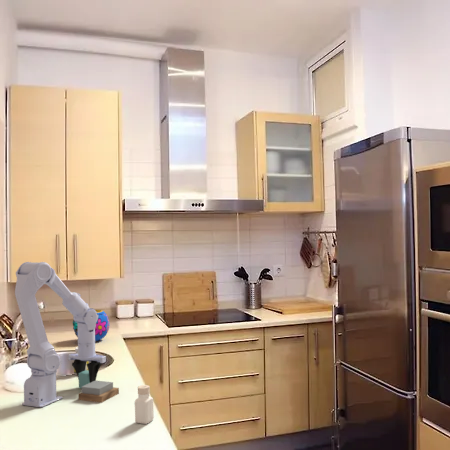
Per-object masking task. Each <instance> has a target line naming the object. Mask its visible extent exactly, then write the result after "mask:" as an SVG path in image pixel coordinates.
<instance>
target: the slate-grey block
mask: <svg viewBox="0 0 450 450" xmlns="http://www.w3.org/2000/svg"><path fill="white" fill-rule="evenodd" d="M113 387H114V382H112V381H103V380H97V379H96V380H95V381H93V382H91V383H89V384H86V385H84V386H82V388H81V392H82V393H85V394H94V395H101V394H103V393H105V392H107V391H109V390H111V389H113Z"/></svg>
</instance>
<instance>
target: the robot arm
mask: <svg viewBox="0 0 450 450" xmlns="http://www.w3.org/2000/svg"><path fill="white" fill-rule="evenodd" d="M15 276H16V283H15V289H14V296H15V299H16V300H15V301H16V303H17V306H18V310H19V313H20V316H21V319H22V324H23V327H24V330H25V334H26V337H27V341H28V344H29V347H28V348H27V350H26V353H27V360H26V364H27V367H28V368H29V369H30V372H31V375H30V377H28V378H27V379H26V380H25V381H24V382H23V402H22V403H21V404H22V406H28V407H37V408H44V407H46V406H48V405H51V404H52V403H53V404H54V403H55V402H56V401H59V400H62V399H63V396H62V395H57V372H58V369H59V368H60V366H61V362H62V360H61V357H60V355H59V354H58V353H57V352H56V349H55V347H54V345H52V343H50V341H49V340H48V335H47V333H46V332H47V331H46V329H45V326H44V322H43V318H42V314H41V311H40V308H39V303H38V301H37V298H36V294H37V292H38V291H39V290H40V289H41V288H42V287H43V286H44V285H46V286H48V287H49V288H50V289H51V290H52V291H53V292H54V293H55V294H56V295H57V296H58V297H60V299H62V300H61V301H62V302H61V303H62V305H63V306H64V308H65V309H66V310H67V311H68V312H69V313H70V314H71V315H72V316H73V320H74V321H75V322H77V323H78V337H77V347H78V354H75V353H69V354H68V355H67V360H68V361H73V362H71V366H72V367H73V370H74V369H75V371H76V373H77V375H76V376H77V380H78V381H79V373H80V372H83V371H85V367H86V362H87V361H88V364H87V367H88V370H89V380H90V383H91V382H93V381H95V380H96V381H97V376H98V372H99V370H100V367H101V365H102V364H104V363H106V362H107V356H106V355H101V354H97V353H96V341H95V327H96V322H97V320H98V315H97V312H96V311H95V310H96V309H95V308H92V307H90V305H89V303H88V302H86V301H85V300H84V299H83V298H82V297H81V296H82V294H80V293H79V292H75V291H73V292H72V291H70V289H69V287H67V286H66V285H65V283H64V282H63V281H62V280H61V278H60V277H59V276H58V275H57V273H56V270H55V269H54V268H53V267H51V265H50V264H49V263H48V262H46V261H40V262H33V261H32V262H31V261H25V262H23V263H21V264H20V266H19V267H18V268H17V270H16V271H15Z"/></svg>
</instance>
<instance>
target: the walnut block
mask: <svg viewBox="0 0 450 450" xmlns="http://www.w3.org/2000/svg"><path fill="white" fill-rule="evenodd" d="M119 391H120V388H119V387H114V386H113V389H111V390H109V391H107V392H105V393H103V394H101V395H94V394H85V393H82V391H81V392H79V393H78V394H77V395H78V401H87V402H93V403H94V402H95V403H104V402H106V401H108V400H110V399H112V398H113V397H115V396H117V395H119V394H120V392H119Z"/></svg>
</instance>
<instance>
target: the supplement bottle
mask: <svg viewBox="0 0 450 450" xmlns="http://www.w3.org/2000/svg"><path fill="white" fill-rule="evenodd" d="M74 349H75V350H74V352H75V353H74V354H78V346H76V347H75V348H74ZM88 363H89V361H87V362H86V367H85V370H88V367H87V364H88ZM73 373H74V375H76V376H77V373H76V371H75V369H74V368H73Z"/></svg>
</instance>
